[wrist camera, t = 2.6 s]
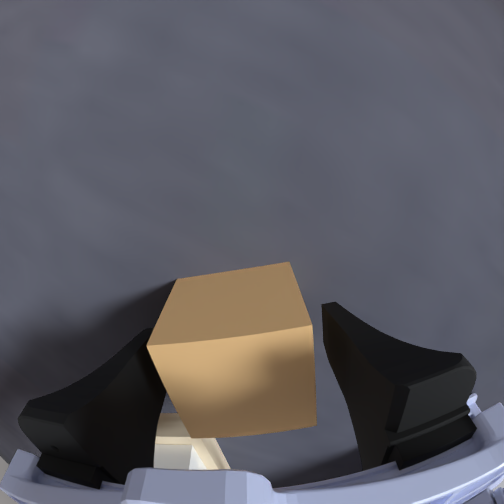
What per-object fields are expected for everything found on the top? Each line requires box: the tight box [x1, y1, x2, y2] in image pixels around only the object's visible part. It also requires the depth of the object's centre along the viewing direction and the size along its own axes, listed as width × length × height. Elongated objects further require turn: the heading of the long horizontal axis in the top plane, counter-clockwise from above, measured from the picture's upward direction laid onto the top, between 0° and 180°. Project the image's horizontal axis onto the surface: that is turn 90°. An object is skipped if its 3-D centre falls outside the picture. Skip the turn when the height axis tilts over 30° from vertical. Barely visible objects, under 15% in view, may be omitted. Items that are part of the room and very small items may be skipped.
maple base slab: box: [155, 413, 231, 470], centre depth 17 cm, size 9×9×2 cm
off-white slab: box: [154, 444, 207, 470], centre depth 15 cm, size 7×7×2 cm
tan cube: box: [146, 262, 317, 439], centre depth 11 cm, size 5×5×5 cm
